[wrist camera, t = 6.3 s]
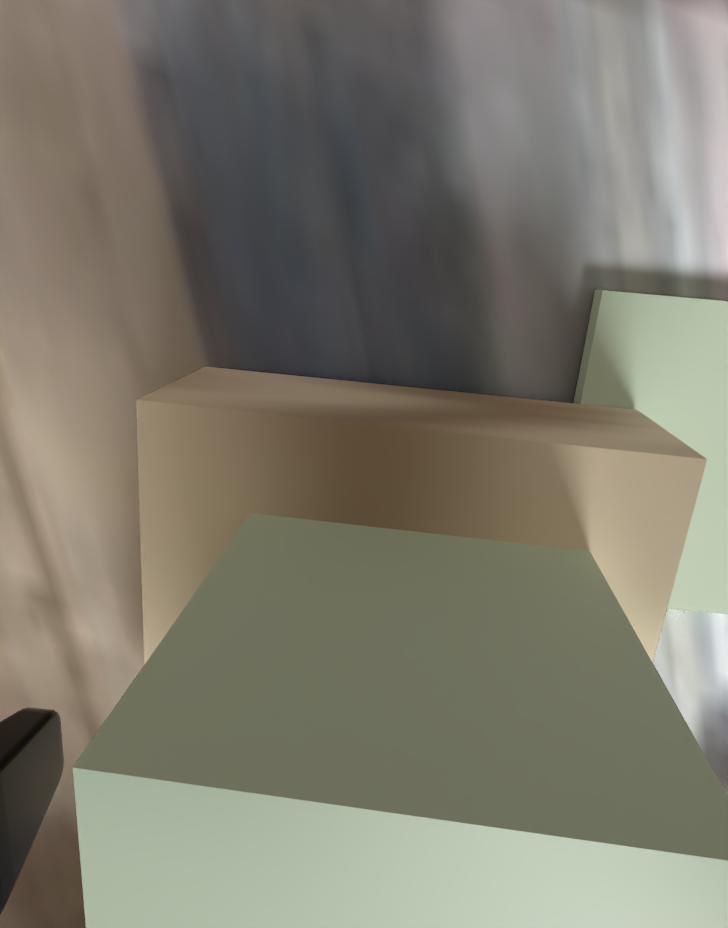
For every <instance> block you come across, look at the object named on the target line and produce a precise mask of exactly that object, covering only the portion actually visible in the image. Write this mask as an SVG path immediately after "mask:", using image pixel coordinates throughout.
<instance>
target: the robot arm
mask: <svg viewBox="0 0 728 928" xmlns="http://www.w3.org/2000/svg"><path fill="white" fill-rule="evenodd" d="M63 764H64V757H63V745H62V733H61V721H60V716H59V714H58V713H57V712H56V711H54V710H48V709H37V708H25V709H22V710H20V711H18V712H16V713H15V714H13V715H11V716H9V717H8V718H6V719H4V720H3V721H1V722H0V914H1V912H2V910H3V908H4V906H5V904H6V902H7V900H8V898H9V896H10V893H11V891H12V889H13V887H14V885H15V882H16V880H17V878H18V876H19V873H20V871H21V869H22V866H23V864H24V862H25V859H26V857H27V855H28V853H29V850H30V848H31V846H32V843H33V841H34V839H35V836H36V834H37V832H38V829H39V827H40V825H41V823H42V820H43V818H44V816H45V813H46V811H47V809H48V806H49V804H50V802H51V800H52V797H53V795H54V793H55V790H56V788H57V786H58V783H59V781H60V778H61V775H62V771H63Z"/></svg>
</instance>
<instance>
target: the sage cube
mask: <svg viewBox="0 0 728 928" xmlns="http://www.w3.org/2000/svg"><path fill="white" fill-rule="evenodd" d="M73 779H74V791H75V803H76V815H77V827H78V839H79V851H80V863H81V875H82V888H83V900H84V912H85V924H86V928H728V796H727V795H726V793H725V791H724V789H723V788H722V786H721V784H720V782H719V780H718V779H717V777H716V775H715V773H714V771H713V770H712V768H711V766H710V764H709V763H708V761H707V759H706V757H705V755H704V754H703V752H702V750H701V748H700V747H699V745H698V743H697V741H696V739H695V738H694V736H693V734H692V732H691V730H690V729H689V727H688V725H687V723H686V722H685V720H684V718H683V716H682V714H681V713H680V711H679V709H678V707H677V706H676V704H675V702H674V700H673V698H672V697H671V695H670V693H669V691H668V689H667V688H666V686H665V684H664V682H663V681H662V679H661V677H660V675H659V673H658V672H657V670H656V668H655V666H654V665H653V663H652V661H651V659H650V657H649V656H648V654H647V652H646V650H645V648H644V647H643V645H642V643H641V641H640V640H639V638H638V636H637V634H636V632H635V631H634V629H633V627H632V625H631V624H630V622H629V620H628V618H627V616H626V615H625V613H624V611H623V609H622V607H621V606H620V604H619V602H618V600H617V599H616V597H615V595H614V593H613V591H612V590H611V588H610V586H609V584H608V583H607V581H606V579H605V577H604V575H603V574H602V572H601V570H600V568H599V566H598V565H597V563H596V561H595V559H594V558H593V556H592V554H591V552H590V551H585V550H576V549H567V548H558V547H549V546H540V545H531V544H522V543H513V542H504V541H495V540H486V539H478V538H469V537H460V536H451V535H442V534H433V533H424V532H415V531H406V530H397V529H388V528H379V527H370V526H362V525H353V524H344V523H335V522H326V521H317V520H308V519H299V518H290V517H281V516H272V515H263V514H255V513H250V515H249V516H248V518H247V519H246V521H245V522H244V523H243V525H242V526H241V528H240V529H239V531H238V532H237V533H236V535H235V536H234V538H233V539H232V541H231V542H230V543H229V545H228V546H227V548H226V549H225V551H224V552H223V553H222V555H221V556H220V558H219V559H218V561H217V562H216V563H215V565H214V566H213V568H212V569H211V571H210V572H209V573H208V575H207V576H206V578H205V579H204V581H203V582H202V583H201V585H200V586H199V588H198V589H197V591H196V592H195V593H194V595H193V596H192V598H191V599H190V601H189V602H188V603H187V605H186V606H185V608H184V609H183V611H182V612H181V613H180V615H179V616H178V618H177V619H176V621H175V622H174V623H173V625H172V626H171V628H170V629H169V631H168V632H167V633H166V635H165V636H164V638H163V639H162V641H161V642H160V643H159V645H158V646H157V648H156V649H155V651H154V652H153V653H152V655H151V656H150V658H149V659H148V661H147V662H146V663H145V665H144V666H143V668H142V669H141V671H140V672H139V673H138V675H137V676H136V678H135V679H134V681H133V682H132V683H131V685H130V686H129V688H128V689H127V691H126V692H125V693H124V695H123V696H122V698H121V699H120V701H119V702H118V703H117V705H116V706H115V708H114V709H113V711H112V712H111V713H110V715H109V716H108V718H107V719H106V721H105V722H104V723H103V725H102V726H101V728H100V729H99V731H98V732H97V733H96V735H95V736H94V738H93V739H92V741H91V742H90V743H89V745H88V746H87V748H86V749H85V750H84V752H83V753H82V755H81V756H80V758H79V759H78V760H77V762H76V763H75V765H74V766H73Z"/></svg>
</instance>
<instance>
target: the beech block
mask: <svg viewBox="0 0 728 928" xmlns="http://www.w3.org/2000/svg"><path fill="white" fill-rule="evenodd" d="M136 422H137V454H138V485H139V516H140V547H141V578H142V609H143V641H144V665H145V663H146V662H147V661H148V659H149V658H150V656H151V655H152V653H153V652H154V651H155V649H156V648H157V646H158V645H159V643H160V642H161V641H162V639H163V638H164V636H165V635H166V633H167V632H168V631H169V629H170V628H171V626H172V625H173V623H174V622H175V621H176V619H177V618H178V616H179V615H180V613H181V612H182V611H183V609H184V608H185V606H186V605H187V603H188V602H189V601H190V599H191V598H192V596H193V595H194V593H195V592H196V591H197V589H198V588H199V586H200V585H201V583H202V582H203V581H204V579H205V578H206V576H207V575H208V573H209V572H210V571H211V569H212V568H213V566H214V565H215V563H216V562H217V561H218V559H219V558H220V556H221V555H222V553H223V552H224V551H225V549H226V548H227V546H228V545H229V543H230V542H231V541H232V539H233V538H234V536H235V535H236V533H237V532H238V531H239V529H240V528H241V526H242V525H243V523H244V522H245V521H246V519H247V518H248V516H249V515H250V513H255V514H263V515H272V516H281V517H290V518H299V519H308V520H317V521H326V522H335V523H344V524H353V525H362V526H370V527H379V528H388V529H397V530H406V531H415V532H424V533H433V534H442V535H451V536H460V537H469V538H478V539H486V540H495V541H504V542H513V543H522V544H531V545H540V546H549V547H558V548H567V549H576V550H585V551H590V552H591V554H592V556H593V558H594V559H595V561H596V563H597V565H598V566H599V568H600V570H601V572H602V574H603V575H604V577H605V579H606V581H607V583H608V584H609V586H610V588H611V590H612V591H613V593H614V595H615V597H616V599H617V600H618V602H619V604H620V606H621V607H622V609H623V611H624V613H625V615H626V616H627V618H628V620H629V622H630V624H631V625H632V627H633V629H634V631H635V632H636V634H637V636H638V638H639V640H640V641H641V643H642V645H643V647H644V648H645V650H646V652H647V654H648V656H649V657H650V659H651V661H652V663H653V661H654V657H655V653H656V649H657V646H658V642H659V638H660V634H661V631H662V627H663V623H664V619H665V616H666V612H667V608H668V604H669V601H670V597H671V593H672V589H673V586H674V582H675V578H676V574H677V571H678V567H679V563H680V559H681V556H682V552H683V548H684V544H685V541H686V537H687V533H688V529H689V526H690V522H691V518H692V515H693V511H694V507H695V503H696V500H697V496H698V492H699V488H700V485H701V481H702V477H703V473H704V470H705V466H706V462H707V459H706V458H705V457H703V456H702V455H700V454H699V453H698V452H696V451H695V450H693V449H692V448H691V447H689V446H688V445H686V444H685V443H684V442H682V441H681V440H679V439H678V438H676V437H675V436H674V435H672V434H671V433H669V432H668V431H667V430H665V429H664V428H662V427H661V426H660V425H658V424H657V423H655V422H654V421H652V420H651V419H650V418H648V417H647V416H645V415H644V414H643V413H641V412H640V411H638V410H635V409H625V408H615V407H605V406H595V405H585V404H575V403H565V402H555V401H545V400H535V399H525V398H515V397H505V396H495V395H485V394H475V393H465V392H455V391H445V390H435V389H425V388H415V387H405V386H395V385H385V384H375V383H365V382H355V381H345V380H335V379H325V378H315V377H305V376H295V375H285V374H275V373H265V372H255V371H245V370H235V369H225V368H215V367H203V368H201V369H199V370H197V371H195V372H193V373H191V374H189V375H187V376H184V377H182V378H180V379H178V380H176V381H174V382H172V383H170V384H168V385H165V386H163V387H161V388H159V389H157V390H155V391H153V392H151V393H149V394H147V395H144V396H142V397H140V398H138V399H136Z"/></svg>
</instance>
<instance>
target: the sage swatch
mask: <svg viewBox="0 0 728 928" xmlns="http://www.w3.org/2000/svg"><path fill="white" fill-rule="evenodd" d="M574 403H575V404H585V405H595V406H605V407H615V408H625V409H635V410H638V411H640V412H641V413H643V414H644V415H645V416H647V417H648V418H650V419H651V420H652V421H654V422H655V423H657V424H658V425H660V426H661V427H662V428H664V429H665V430H667V431H668V432H669V433H671V434H672V435H674V436H675V437H676V438H678V439H679V440H681V441H682V442H684V443H685V444H686V445H688V446H689V447H691V448H692V449H693V450H695V451H696V452H698V453H699V454H700V455H702V456H703V457H705V458H706V459H707V462H706V466H705V470H704V473H703V477H702V481H701V485H700V488H699V492H698V496H697V500H696V503H695V507H694V511H693V515H692V518H691V522H690V526H689V529H688V533H687V537H686V541H685V544H684V548H683V552H682V556H681V559H680V563H679V567H678V571H677V574H676V578H675V582H674V586H673V589H672V593H671V597H670V601H669V604H668V608H667V609H677V610H688V611H699V612H710V613H721V614H728V301H722V300H711V299H699V298H688V297H677V296H665V295H654V294H643V293H631V292H620V291H609V290H597V289H595V293H594V299H593V304H592V309H591V314H590V319H589V325H588V330H587V335H586V340H585V345H584V351H583V356H582V361H581V366H580V372H579V377H578V382H577V387H576V392H575V398H574Z"/></svg>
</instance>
